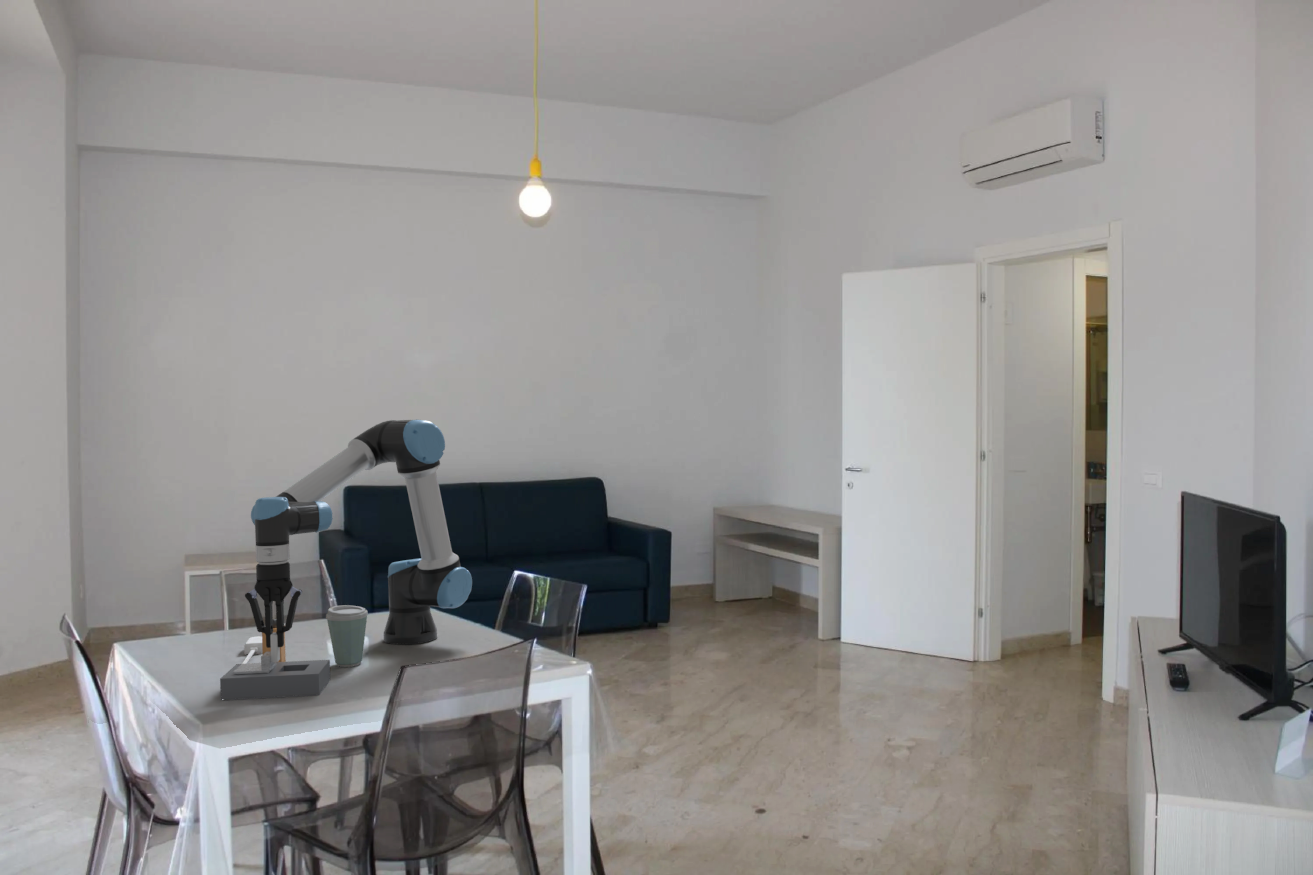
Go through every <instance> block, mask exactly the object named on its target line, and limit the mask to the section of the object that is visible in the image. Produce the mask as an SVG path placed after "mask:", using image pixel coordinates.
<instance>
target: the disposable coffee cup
mask: <svg viewBox="0 0 1313 875" xmlns="http://www.w3.org/2000/svg"><path fill="white" fill-rule="evenodd" d="M325 619H326V621H327V626H328V631H329V636H330V642H331V645H332V646H331V647H332V653H333V657H334V661H335V662H334V663H335V664H336V666H337V667H339V666H340V667H339V668H352V667H356V666H360V665H361V664H362V661H363V655H364V646H365V639H366V637H365V636H366V629H367V619H368V610H367V609H366V608H365V607H362V606H358V605H357V606H356V605H348V604H347V605H346V604H345V605H333V606H331V607H329V608H328V609H327V613H326V614H325ZM359 664H360V665H359Z"/></svg>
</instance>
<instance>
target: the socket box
mask: <svg viewBox="0 0 1313 875" xmlns="http://www.w3.org/2000/svg"><path fill="white" fill-rule="evenodd" d="M330 660H331V659H317V660H313V659H312V660H297V661H295V660H293V661H286V662H277V665H276V666H275V667H274V668H273V669H272V670H271V671H270V672H269V673H255V674H234V675H233V672H234V671H235V670H236V669H237V668H238V667H239V666H240V665H241V664H242V663H237V664H235V665H234V666H232V667H231V669H229V670H228V671H227V672H226V673H224V675H223V676H222V677H220V678H219V679H220V680H219V681H220V682H219V683H220V684H219V686H220V692H219V693H220V701H223V700H222V699H235V700H250V699H253V700H254V699H270V698H273V699H274V698H289V697H291V698H292V697H306V696H307V697H308V696H309V697H310V696H320V695H321V693H322V692H323V691H324V689H325V688H326V686H327V685H328V684H329V682H330V681H331V665H330V664H331V663H330Z"/></svg>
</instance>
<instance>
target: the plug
mask: <svg viewBox="0 0 1313 875" xmlns="http://www.w3.org/2000/svg"><path fill="white" fill-rule="evenodd" d="M284 626H285V624H284ZM273 629H274V630H273V633H276V632H277V625H276V618H273ZM261 636H262V650H263V654H264V653H265V652H269V651H271V648H267V646H266V634H265V633H262V632H261ZM263 654H262V655H263ZM286 656H287V655H286V632H284V645H283V647H280V660H279V661H278V662H287V661H286V660H287V659H286V658H287V657H286Z"/></svg>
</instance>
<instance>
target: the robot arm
mask: <svg viewBox="0 0 1313 875" xmlns="http://www.w3.org/2000/svg"><path fill="white" fill-rule="evenodd" d="M445 448H446V441H445V437H444V434H443V433H442V430H441V429H440V428H439V426H437V425H436V424H435V423H433V422H432V421H430V420H422V419H403V420H392V419H391V420H386V421H382V422H380V423H378V424H375V425H374V426H372V427H370V428H368V429H367V430H365V431H363V432H362V433H360V434H359V435H357V436H356V437H354V438H353V439H351V440H350V441H349V442H348V444H347V447H346V448H345V449H343V450H342V451H339V453H338V454H336V455H334V456H333V457H332V458H330V459H329V460H328V461H326V462H324V463H323V464H321V465H319V467H317V468H316V469H314V470H313V471H311V472H309V474H307V475H305V476H304V477H303V478H301V479H300V480H298V481H296V482H295V483H294V484H292V485H291V486H289V487H288V488H286V489H285V490H283V491H282V492H281V493H279V494H278V495H276V496H269V497H259V498H257V499H256V500H255V503H254V505H253V506H252V509H251V512H250V518H251V521H252V524H253V525H254V529H255V530H254V534H255V537H254V538H255V562H256V563H257V564H256V566H255V568H256V570H255V571H256V581H255V582H256V583H255V584H254V588H253V589H251V590H250V591H248V592H246V593H245V594H244V597H245V599H246V600H247V601H248V603H249V606H250V609H251V613H252V616H253V619H254V623H255V626H256V630H257V632H258V633H261V634H262V633H265V634H266V646H267V648H271V662H278V661H279V660H280V647H283V645H284V632H285V633H286V632H289V631H290V630H291V629H292V627H293V625H294V624H293V623H294V619H295V614H296V610H297V605H298V601H299V599H300V597H301V596H302V594H303V590H302V589H300V588H299V589H298V588H296V587H294V586H293V582H292V581H291V567H290V566H291V565H290V564H291V563H289V560H290V559H291V558H290V536H294V535H300V534H308V533H309V534H310V533H316V534H317V533H319V532H322V531H326V530H328V529H329V528H330V527H331V526H332V523H333V510H332V508H331V506H330V505H329V503H327V502H325V501H323V500H324V499H325V498H326V497H328V496H330V495H331V494H332V493H333V492H335V491H336V490H338V489H340V488H341V487H342V486H344V485H345V484H346V483H348V482H349V481H350V480H352V479H353V478H355V477H356V476H357V475H359V474H361V473H362V472H363V471H364V470H365V471H370V470H373V469H374V468H375V467H377V466H379V465H382V464H386V463H395V465H396V470H397V473H398V475H400V476H402V477H404V480H405V486H406V490H407V494H408V501H409V505H410V509H411V513H412V518H413V525H414V528H415V534H416V538H417V543H418V548H419V552H420V557H421V558H413V559H406V560H400V561H394V562H391V563H390V564H389V565H388V570H387V572H388V573H387V574H388V575H387V586H388V587H387V588H388V611H389V613H388V616H387V621H386V622H385V623H386V624H385V627H384V631H383V642H384V643H386V644H391V645H392V644H393V645H415V644H422V643H427V642H432V641H434V640H436V639H437V638H438V629H437V626H436V623H435V619H434V618H433V614H432V612H431V607H435V608H441V609H444V610H445V609H456V608H459V607H461V606H462V605H463V604H464V603H465V602H466V601H467V600H468V599H469V595H470V594H471V592H472V588H473V587H472V586H473V579H472V578H473V577H472V574H471V572H470V571H469V570H468V569H467V568H465V567H463V566H461V562H460V561H461V560H460V557H459V555H458V554H456V553H454V552H453V548H452V543H451V541H450V540H451V538H450V535H449V530H448V524H447V518H446V515H445V514H446V513H445V510H444V505H443V500H442V494H441V490H440V485H439V480H438V474H437V470H438V468H439V467H440V466H441V461H440V460H441V458H442V457H443V456H444V454H445V453H444V451H445ZM289 593H290V597H291V599H290V602H289V607H288V612H287V614H286V615H287V616H286V620H285V616H284V615H285V614H284V612H285V611H284V610H285V608H284V603H285V602H284V601H285V599H286V597H287V596H288V594H289ZM258 595H259V597H260V598H261V600H263V605H264V619H263V616H262V611H261V608H260V605H259V602H258V599H257V598H258ZM274 602H275V604H274V605H275V614H276V615H275V616H276V618H275V619H276V625H277V632H276V633H273V630H274V629H273V619H274V617H273V613H274V612H273V603H274ZM284 625H285V626H284Z"/></svg>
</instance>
